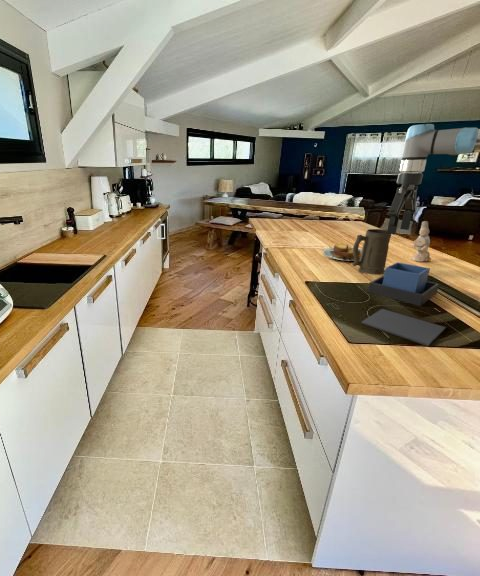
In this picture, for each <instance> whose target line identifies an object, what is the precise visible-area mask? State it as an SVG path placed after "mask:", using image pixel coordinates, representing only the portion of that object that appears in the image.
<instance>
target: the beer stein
mask: <svg viewBox="0 0 480 576" xmlns="http://www.w3.org/2000/svg"><path fill="white" fill-rule="evenodd" d="M387 230H388V229H382V228H371V229H367V230H366V232H365V235H362V234H357V235H356V239H355V242H354V244H353V246H352V247H353V255H354V259H355V261H353V263H352V266H353V267H356V266H359V267H358V269H357V271H358V272H359V274H367V275H368V274H369V275H383V274H385V269H386V263H387V258H388V253H389V248H390V247H389V245H390V241H391V237H392V234H387ZM362 241H364V242H363V244H362V248H361V249H362V253H361V257H360V260H359V258H358V248H360V243H361V242H362Z"/></svg>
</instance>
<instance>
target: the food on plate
mask: <svg viewBox="0 0 480 576" xmlns="http://www.w3.org/2000/svg"><path fill="white" fill-rule="evenodd" d="M361 253H362V248H361V247H358V258H359V261H360V257H361ZM322 254H323V255H324V256H325V257H327V258H329V259H334V260H339V261H345V262H346V261H347V262H351V261H353V262H354V261H355V259H354V255H353V246H349V245H348V244H346V243H336V244H334V246H333V247H329V248H325V249H323V250H322ZM330 256H332V257H330Z"/></svg>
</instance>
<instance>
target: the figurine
mask: <svg viewBox="0 0 480 576" xmlns="http://www.w3.org/2000/svg"><path fill="white" fill-rule="evenodd" d="M429 234H430V229H429V221H427V220H424V221H422V222H421V225H420V229H419V236H418V237H417V238H416V239H414V241H413V245H412V248H413V249H416V250H417V251H416V252H415V253H414V255H413V256H412V260H413V261H414V262H428V261H431V260H432V257H431V253H430V252H429V251H428V250H429V248H430V244H431V239H430V235H429Z"/></svg>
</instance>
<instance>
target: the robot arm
mask: <svg viewBox="0 0 480 576" xmlns="http://www.w3.org/2000/svg"><path fill="white" fill-rule="evenodd" d="M405 136H406V137H405V139H404V144H403V150H402V155H401V160H400V163H399V164H398V166H399V170H398V172H400V173H398V175H397V179H396V184H397V185H401V186H400V187H398V186H397V188H396V192H395V194H394V197H393V200H392V202H391V205H390V208H389V210H388V213H387V216H388V217H389V220H388V225H387V226H388V227H387V229H386V230H387V234H391V235H396V234H397V229H398V225H399V220H400V213H401V212H402V209H403V207H404V212H403V214H402V219H401V224H400V230H404V231H405V230H407V231H409V229H410V225H411V221H412V217H413V213H414V214H415V213H416V211H417V210H416V209H417V207H416V206H417V192H418V188H419V187H418V185H421V184H422V180H423V177H424V174H423V172H425V169H426V165H427V160H428V156H429V155H450V156H459V155H465V154H474V153H475V154H476V153H480V128H478V127H461V128H459V127H458V128H450V129H435V125H434V124H433V123H423V124H414V125H411V126H410V127H409V128H408V129H407V132H406V135H405Z"/></svg>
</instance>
